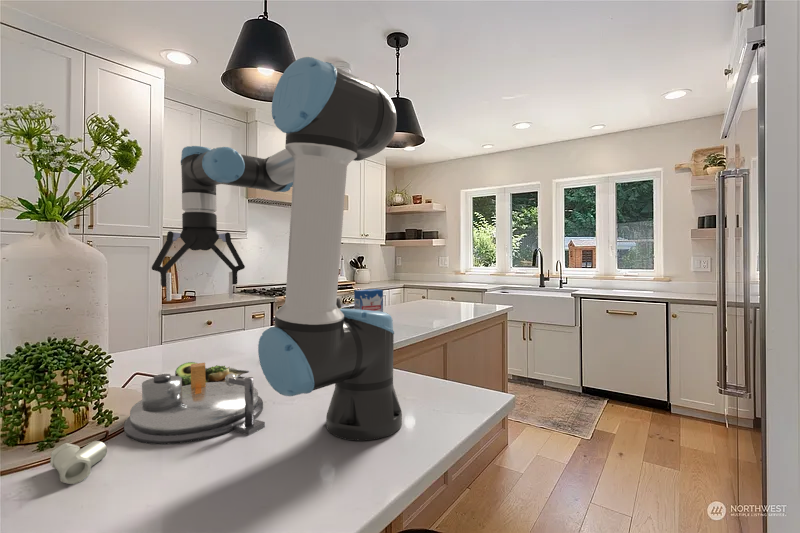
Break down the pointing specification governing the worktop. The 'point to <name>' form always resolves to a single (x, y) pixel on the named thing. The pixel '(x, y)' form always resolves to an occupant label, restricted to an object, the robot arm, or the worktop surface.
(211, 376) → the salad plate
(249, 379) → the stand
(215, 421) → the turntable
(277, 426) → the worktop surface
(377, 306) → the milk carton
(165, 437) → the turntable base
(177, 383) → the cast cover
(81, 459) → the pipe fitting
